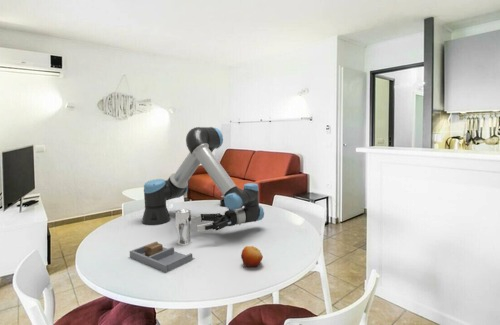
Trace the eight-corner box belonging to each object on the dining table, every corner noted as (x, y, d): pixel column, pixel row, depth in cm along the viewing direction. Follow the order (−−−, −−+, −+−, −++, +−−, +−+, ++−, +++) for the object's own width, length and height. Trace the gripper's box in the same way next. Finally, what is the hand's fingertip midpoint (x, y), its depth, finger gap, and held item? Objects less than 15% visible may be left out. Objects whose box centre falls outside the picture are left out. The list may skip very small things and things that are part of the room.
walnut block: (145, 255, 118) (144, 245, 118) (155, 251, 122) (154, 242, 122) (152, 258, 115) (151, 248, 115) (162, 253, 119) (162, 244, 119)
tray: (130, 258, 116) (129, 251, 116) (159, 247, 128) (159, 240, 127) (166, 274, 103) (165, 265, 103) (195, 259, 114) (195, 252, 114)
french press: (234, 206, 195) (233, 173, 193) (220, 207, 194) (219, 173, 192) (233, 202, 207) (232, 170, 204) (219, 203, 206) (219, 171, 203)
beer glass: (178, 247, 127) (177, 214, 125) (174, 242, 133) (173, 210, 131) (194, 244, 130) (192, 211, 128) (189, 239, 136) (188, 208, 134)
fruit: (235, 257, 112) (246, 239, 112) (253, 266, 113) (263, 249, 113) (236, 267, 104) (247, 248, 104) (255, 276, 105) (266, 258, 105)
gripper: (246, 232, 132) (202, 241, 121) (224, 218, 153) (184, 225, 143) (246, 215, 131) (201, 223, 121) (223, 204, 153) (184, 210, 142)
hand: (192, 224), depth 132 cm, fingers open, 13 cm apart
